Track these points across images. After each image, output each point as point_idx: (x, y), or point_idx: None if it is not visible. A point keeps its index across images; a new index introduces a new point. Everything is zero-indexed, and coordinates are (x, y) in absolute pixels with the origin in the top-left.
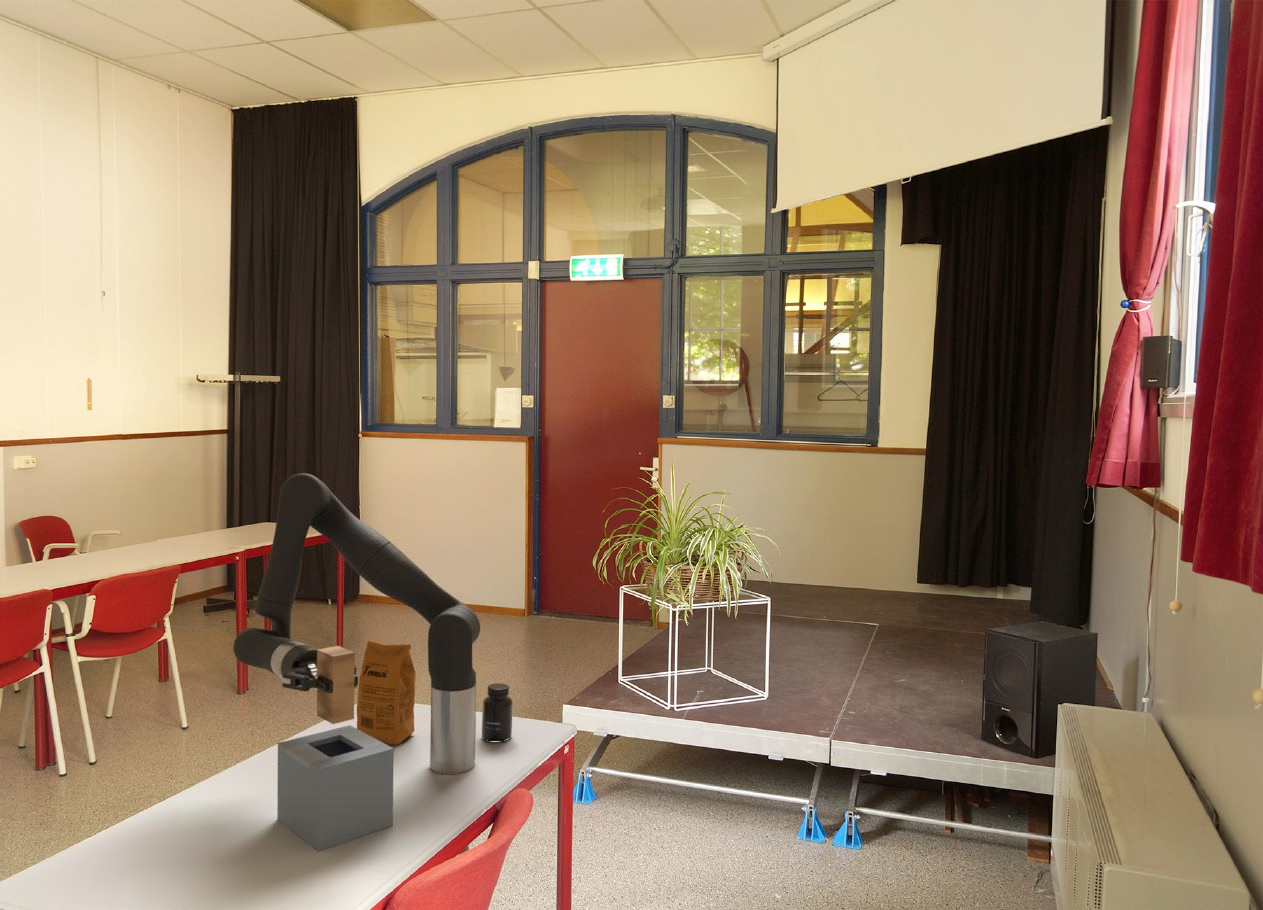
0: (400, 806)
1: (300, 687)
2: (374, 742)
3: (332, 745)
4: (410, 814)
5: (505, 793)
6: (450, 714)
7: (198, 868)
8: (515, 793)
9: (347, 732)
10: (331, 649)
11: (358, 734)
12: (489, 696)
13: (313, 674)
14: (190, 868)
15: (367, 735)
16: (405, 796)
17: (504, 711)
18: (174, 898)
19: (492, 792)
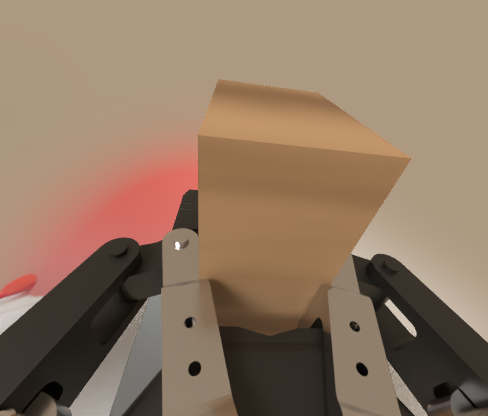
0: (117, 372)
1: (388, 315)
2: (159, 305)
3: None
4: (134, 334)
5: (10, 297)
6: None
7: (406, 392)
8: (6, 288)
9: None
10: (294, 121)
11: (137, 389)
12: None
13: (350, 275)
14: (417, 401)
15: (131, 360)
16: (74, 409)
17: None
18: (414, 336)
19: (10, 312)
